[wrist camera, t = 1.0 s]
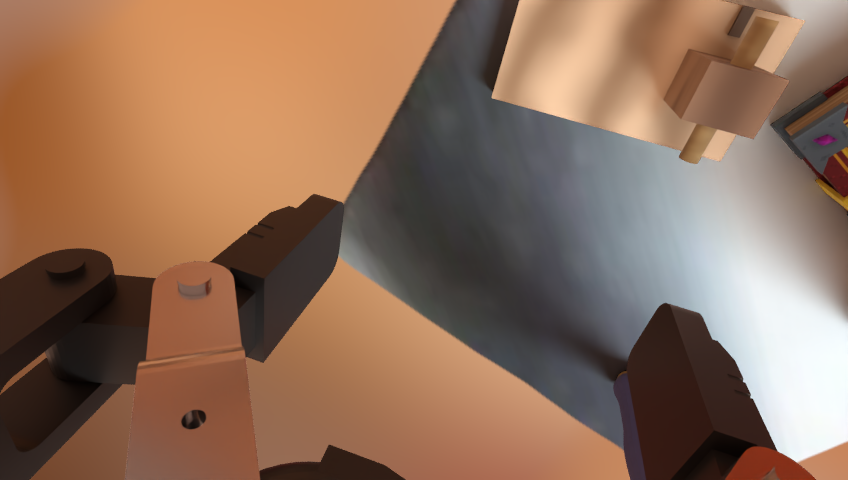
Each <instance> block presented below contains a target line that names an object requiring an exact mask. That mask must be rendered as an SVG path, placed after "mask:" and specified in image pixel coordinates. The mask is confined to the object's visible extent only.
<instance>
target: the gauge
mask: <svg viewBox="0 0 848 480" xmlns="http://www.w3.org/2000/svg"><path fill="white" fill-rule="evenodd" d="M778 23H779V21H775V20H771V19H767V18H762V17H758V16H756V17H755V19H754V20H753V22H752V24H751V26H750V28H749V29H748V31H747V33H746V35H745V37H744V39H743V40H742V42H741V44H740V46H739V48H738V50H737V51H736V53H735V55H734V57H733V59H732V60H731V59H727V58H723V57H719V56H715V55H711V54H708V53H704V52H700V51H696V50H692V49H688V51H687V53H686V55H685V57H684V59H683V61H682V63H681V65H680V67H679V69H678V71H677V73H676V75H675V77H674V79H673V81H672V83H671V85H670V87H669V89H668V91H667V93H666V96H665V98H664V101H665V102H666V103H667V105H668V106H669V107H670V108H671V109H672V110H673V111H674V112H675V113H676V114H677V116H678V117H679V118H680V119H681V120H685V121H689V122H692V123H696V126H695V128H694V130H693V132H692V133H691V135H690V137H689V139H688V141H687V142H686V144H685V146H684V148H683V150H682V152H681V153H680V155H679V158H681V159H682V160H684V161H687V162H689V163H693V164H697V163H698V162H699V160H700V158H701V157H702V155H703V153H704V152H705V150H706V148H707V146H708V145H709V143H710V141H711V139H712V138H713V136H714V134H715V132H716V131H717V129H718V130H722V131H725V132H729V133H733V134H737V135H740V136H744V137H748V138H751V139H754V137H755V136H756V134H757V132H758V131H759V129H760V128H761V126H762V125H763V123H764V121H765V120H766V118H767V117H768V115H769V113H770V112H771V110H772V109H773V107H774V105H775V104H776V102H777V101H778V99H779V98H780V96H781V94H782V93H783V91H784V90H785V88H786V86H787V85H788V83H789V82H790V81H789V80H787V79H784V78H782V77H780V76H777V75H775V74H773V73H771V72H768V71H766V70H764V69H761V68H759V67H757V66H754V65H755V63H756V61H757V60H758V58H759V56H760V55H761V53H762V51H763V49H764V48H765V46H766V44H767V42H768V41H769V39H770V37H771V36H772V34H773V32H774V30H775V29H776V27H777V25H778Z"/></svg>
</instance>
